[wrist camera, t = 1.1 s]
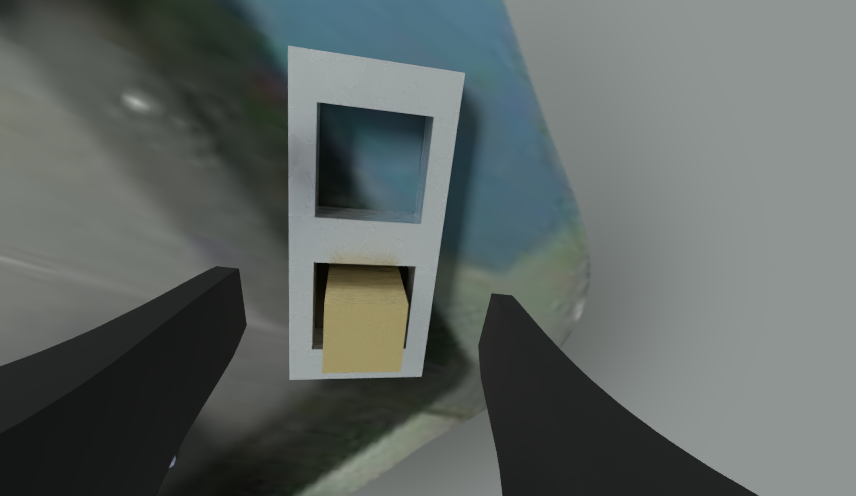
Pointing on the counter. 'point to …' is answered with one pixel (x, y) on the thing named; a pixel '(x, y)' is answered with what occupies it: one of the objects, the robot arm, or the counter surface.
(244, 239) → the counter surface
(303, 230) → the white block holder tray
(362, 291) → the wooden block
